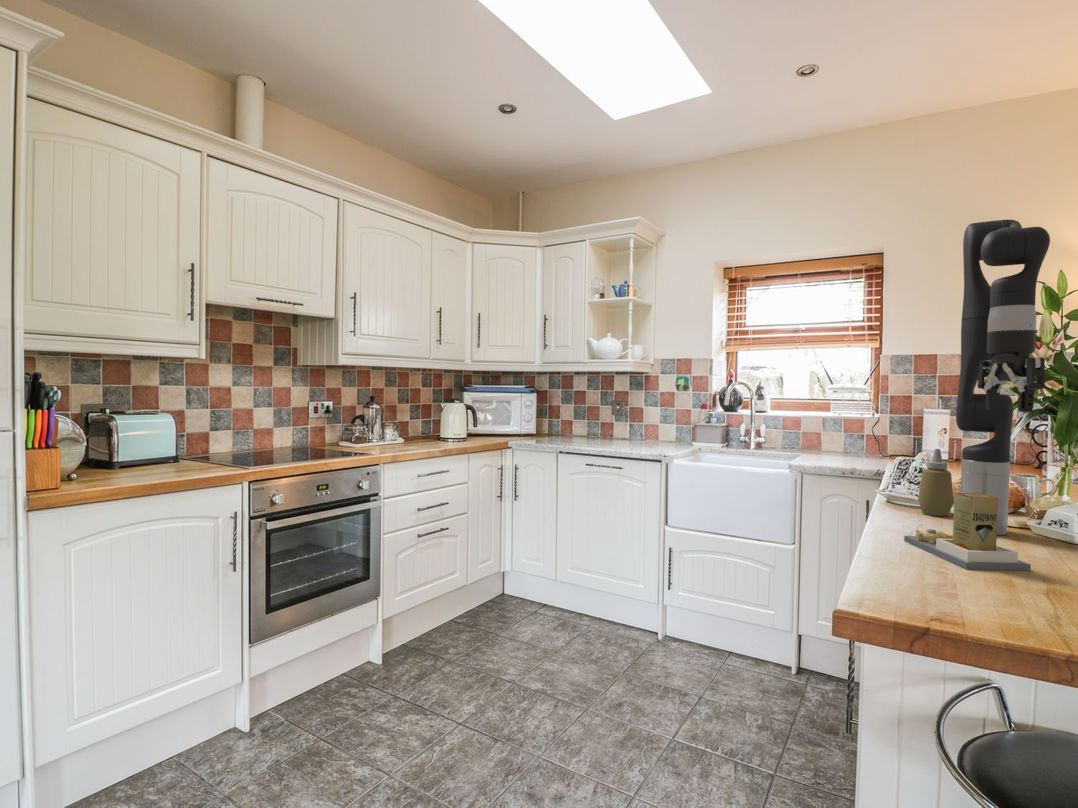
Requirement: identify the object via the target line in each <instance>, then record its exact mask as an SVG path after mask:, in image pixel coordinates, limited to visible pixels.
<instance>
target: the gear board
mask: <svg viewBox="0 0 1078 808" xmlns="http://www.w3.org/2000/svg"><path fill="white" fill-rule="evenodd" d="M936 538H937V539H953V529H944V530H943V531H941V530H938V531H937V530H936V529H933V528H927V529H922V530H920V529H916V530H915V535H904V537H903V542H905V543H908V544H910V545H912V546H914V547H917V548H918V549H921V550H923V551H925V552H928V553H929V554H931V555H934V556H936V557H938V558H941V559H943V560H945V561H947V562H949V563H951V564H954V565H956V566H958V567H961V568H962V569H964V570H989V571H991V570H995V571H1031V569H1032V567H1031V564H1030V563H1029V562H1027V561H1024V560H1021V559H1018V563H1004V562H967V561H965V560H962V559H960V558H958V557H955V556H953V555H951V554H949V553H946V552H944V551H942V550H939V549H937V548H936Z"/></svg>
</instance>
